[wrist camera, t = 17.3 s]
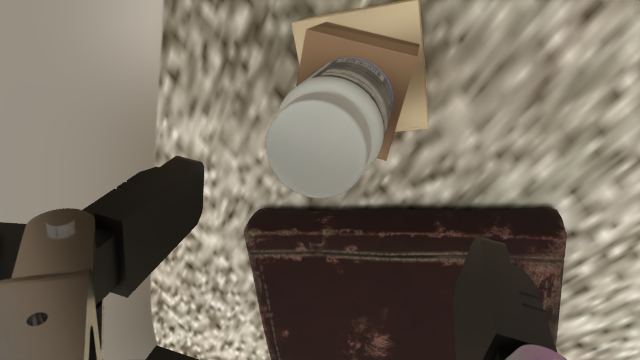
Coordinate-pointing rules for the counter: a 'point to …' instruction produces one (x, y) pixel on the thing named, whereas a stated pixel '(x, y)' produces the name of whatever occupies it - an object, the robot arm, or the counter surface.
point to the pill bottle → (330, 128)
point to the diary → (385, 276)
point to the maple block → (391, 22)
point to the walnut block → (375, 48)
